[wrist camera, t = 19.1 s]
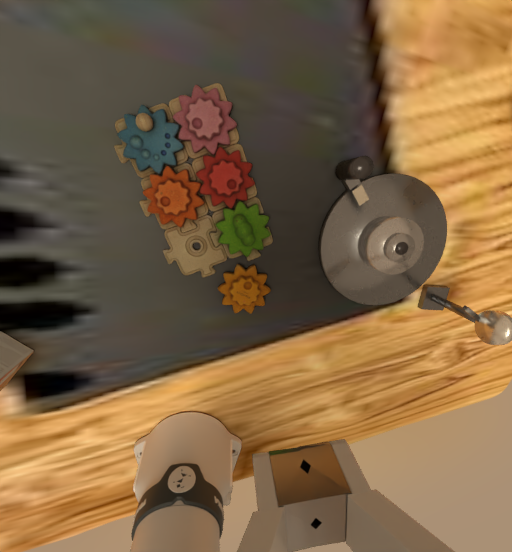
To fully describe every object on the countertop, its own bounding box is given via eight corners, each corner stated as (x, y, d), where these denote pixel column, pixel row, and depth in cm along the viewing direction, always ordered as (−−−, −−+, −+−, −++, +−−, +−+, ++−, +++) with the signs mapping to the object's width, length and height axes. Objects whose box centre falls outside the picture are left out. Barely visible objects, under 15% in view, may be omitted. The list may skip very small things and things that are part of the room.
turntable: (464, 234, 45) (498, 240, 39) (375, 324, 47) (395, 341, 42) (372, 125, 38) (396, 113, 33) (275, 236, 41) (283, 242, 36)
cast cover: (417, 240, 43) (440, 246, 38) (379, 278, 44) (397, 287, 39) (386, 204, 40) (407, 205, 36) (347, 244, 41) (362, 250, 37)
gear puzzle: (293, 293, 45) (299, 303, 41) (199, 328, 45) (197, 341, 41) (223, 80, 35) (223, 66, 32) (103, 123, 35) (89, 114, 31)
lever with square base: (438, 308, 48) (518, 351, 35) (411, 307, 48) (482, 350, 35) (445, 285, 47) (530, 320, 34) (417, 283, 46) (494, 318, 33)
